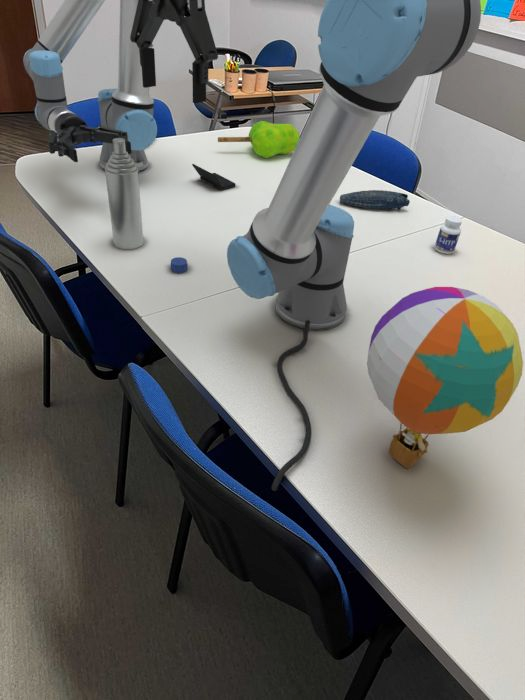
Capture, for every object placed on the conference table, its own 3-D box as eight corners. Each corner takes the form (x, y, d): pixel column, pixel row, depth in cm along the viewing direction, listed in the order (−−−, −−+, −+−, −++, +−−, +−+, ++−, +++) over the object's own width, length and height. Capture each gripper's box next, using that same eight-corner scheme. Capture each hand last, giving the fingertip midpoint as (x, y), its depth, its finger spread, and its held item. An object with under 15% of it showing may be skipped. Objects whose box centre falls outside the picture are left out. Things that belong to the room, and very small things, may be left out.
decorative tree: (215, 117, 188) (295, 117, 193) (215, 147, 195) (292, 146, 200) (221, 131, 174) (307, 131, 180) (221, 163, 181) (304, 161, 186)
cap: (168, 271, 121) (168, 263, 120) (173, 263, 124) (173, 256, 123) (184, 274, 121) (184, 266, 119) (189, 266, 124) (189, 258, 122)
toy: (317, 448, 82) (351, 286, 63) (393, 397, 93) (442, 246, 74) (418, 536, 71) (496, 372, 52) (491, 467, 82) (578, 310, 63)
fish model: (408, 214, 157) (412, 198, 153) (339, 207, 158) (341, 191, 154) (406, 206, 162) (410, 190, 159) (339, 199, 163) (341, 183, 160)
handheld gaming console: (239, 179, 164) (224, 157, 156) (229, 197, 163) (213, 176, 155) (213, 174, 171) (197, 153, 162) (202, 192, 169) (186, 171, 161)
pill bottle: (433, 251, 139) (442, 220, 133) (435, 243, 143) (444, 213, 137) (453, 256, 138) (464, 225, 132) (454, 247, 142) (465, 217, 136)
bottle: (110, 238, 132) (98, 135, 116) (139, 234, 134) (131, 133, 119) (117, 251, 127) (105, 145, 111) (146, 247, 129) (139, 143, 114)
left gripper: (114, 136, 145) (151, 160, 132) (23, 148, 132) (54, 176, 120) (111, 107, 140) (149, 129, 128) (16, 117, 127) (48, 142, 115)
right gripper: (241, -38, 82) (235, 105, 95) (136, -52, 93) (144, 78, 107) (208, -40, 77) (207, 112, 91) (102, -54, 89) (115, 82, 102)
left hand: (103, 152), depth 124 cm, fingers open, 13 cm apart
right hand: (173, 94), depth 99 cm, fingers open, 13 cm apart
